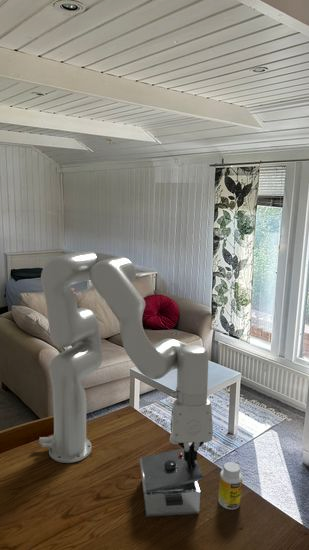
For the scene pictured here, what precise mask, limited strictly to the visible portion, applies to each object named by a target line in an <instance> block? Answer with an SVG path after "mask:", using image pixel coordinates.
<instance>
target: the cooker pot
mask: <svg viewBox="0 0 309 550" xmlns="http://www.w3.org/2000/svg"><path fill="white" fill-rule="evenodd" d="M141 482H142V481H141ZM141 484H142V485H143V482H142V483H141ZM142 491H143V490H142ZM143 499H144V507H145V508H144V509H145V515H146V516H145V517H147V518H148V517H162V516H163V517H164V516H177V515H178V516H180V515H195V514H198V515H199V514H200V505H201V504H200V503H201V489H200V486H199V483H198V481H196V482H192V483H188V484H184V485H179V486H175V487H171V488H167V489H162V490H158V491H154V492H150V493H146V494H144V491H143Z"/></svg>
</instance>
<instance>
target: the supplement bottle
mask: <svg viewBox="0 0 309 550" xmlns="http://www.w3.org/2000/svg"><path fill="white" fill-rule="evenodd" d="M242 485H243V474H242V472H241V468H240V465H239V464H237V463H236V462H233V461H228V462H225V463H224V464H223V469H221V471H220V473H219V487H218V489H219V490H218V499H217V500H218V503H219V505H220V506H221V507H223V508H225V509H227V510H236V509H238V508H239V507H240V505H241V501H242V500H241V499H242V488H243V486H242Z"/></svg>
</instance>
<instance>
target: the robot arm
mask: <svg viewBox="0 0 309 550" xmlns="http://www.w3.org/2000/svg"><path fill="white" fill-rule="evenodd" d="M136 277H137V269H136V267H135V265H134V264H133V262H132V261H131V260H130V259H128V258H126V257H125V256H120V255H114V254H109V253H104V252H99V251H89V250H87V251H81V252H74V253H66V254H62V255H59V256H56V257H54V258H52V259H50V260H49V261H48V262H47V263H46V264H44V267H43V268H42V270H41V274H40V280H41V287H42V292H43V294H44V299H45V304H46V305H45V306H46V315H47V319H48V320H47V322H48V329H49V336H50V339H51V342H52V343H53V345H54V346H55V347H57V348H59V349H60V348H67V349H66V350H63V351H61V352H60V353H58V354H57V355H56V356H54V357H53V359H51V361H50V363H49V366H48V372H49V377H50V381H51V387H52V401H53V402H52V403H53V405H52V406H53V435H50V436H49V437H46V436H42V437H41V436H39V440H38V441H39V442H38V443H39V445H41V448H42V449H43V448H44V449H46V448H48V454H49V456H50V458H51V459H52V460H54V461H56V462H58V463H63V464H64V463H66V464H70V463H72V464H73V463H77V462H80V461H82V460H83V459H85V458H87V457H88V456H89V455H90V454H91V452H92V442H91V441H90V440H89V439H88V438H87V393H86V390H85V388H84V386H83V384H82V380H83V379H84V378H86V377H87V376H89V375H90V374H92V373H94V372H96V371H97V370H98V369H99V368H100V367H101V364H102V363H103V348H102V338H101V329H100V323H99V320H98V318H97V316H96V314H95V312H93V311H92V310H91V309H89V308H87V307H79V308H78V302H77V296H76V294H75V292H74V291H73V288H71V286H72V285H76V284H80V283H85V282H87V281H88V282H89V281H90V283H91V284H92V285H93V288H95V290H96V291H97V293H98V295H99V296H100V297H101V298H102V299H103V301H104V303H106V305H107V307H108V308H109V309H110V310H111V313H113V316H115V318H116V320H117V321H118V324H119V334H120V339H121V343H122V345H123V349H124V350H125V353H126V354H127V356H128V357H129V359H130V361H131V362H132V363H133V364H134V366H135V367H136V369H137V370H138V371H139V372H140V373H141V375H143V376H144V377H146V378H148V379H150V380H160V379H161V378H163V377H165V376H166V375H167V374H168V373H170V372H171V371H173V370H176V378H177V379H176V389H175V390H173V391H171V392H170V397H171V398H174V400H173V402H172V409H171V418H170V436H169V442H170V443H171V444H172V445H179V446H180V447H181V448H183V449H184V460H185V461H187V464H188V466H190V465H192V466H195V460H197V461H198V451H199V450H200V447H201V446H202V445H203V444H204V443H209V442H212V440H213V433H214V429H213V428H214V427H213V412H212V411H213V410H212V409H213V408H212V403H211V401H210V398H208V385H209V384H208V382H209V381H208V379H209V378H208V377H209V352H208V349H206V348H205V347H204V346H202V345H197V344H188V343H185V342H183V341H180V340H178V339H174V338H164V339H162V340H160V341H159V342H157V343H155V344H152V342H151V341H150V339H149V337H148V336H147V334H146V332H145V330H144V326H143V315H144V311H145V309H146V300H145V299H144V298H143V296H142V295H141V293H140V292H139V291H138V289H137V288H136V287H135V286H134V284H133V282H135V279H136ZM73 345H75V346H73ZM71 346H73V347H71ZM68 347H69V348H68Z"/></svg>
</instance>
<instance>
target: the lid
mask: <svg viewBox="0 0 309 550" xmlns="http://www.w3.org/2000/svg"><path fill="white" fill-rule="evenodd" d="M139 465H140V473H141V482H143V484H142V491H144V492H143V495H144V494H146V493H150V492H154V491H158V490H162V489H167V488H171V487H175V486H179V485H184V484H188V483H192V482H196V481H197V482H199V481H203V480H204V477H203V474H202V470H201V468H200V465H199V462H198V459H197V460H195V466H192V465H190V466H188V464H187V461H185V460H184V449H183V448H182V447H181V448H177V449H173V450H170V451H164V452H160V453H155V454H152V455H151V454H150V455H148V456H143V457H139Z"/></svg>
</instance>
